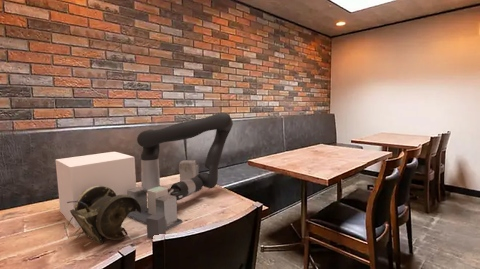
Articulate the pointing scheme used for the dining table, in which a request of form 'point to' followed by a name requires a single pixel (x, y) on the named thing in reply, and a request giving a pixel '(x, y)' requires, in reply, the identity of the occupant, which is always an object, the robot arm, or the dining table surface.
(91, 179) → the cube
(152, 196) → the block
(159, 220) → the relay
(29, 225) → the dining table surface
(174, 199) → the rail
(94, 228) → the bench grinder
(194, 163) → the circuit breaker
